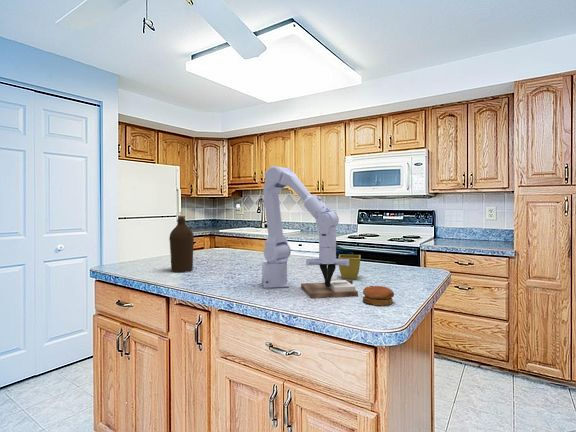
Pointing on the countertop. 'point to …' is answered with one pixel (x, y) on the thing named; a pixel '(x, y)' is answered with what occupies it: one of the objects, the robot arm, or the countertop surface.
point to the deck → (324, 291)
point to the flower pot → (350, 266)
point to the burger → (378, 295)
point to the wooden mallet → (346, 280)
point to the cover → (341, 286)
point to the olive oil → (181, 247)
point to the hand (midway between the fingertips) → (327, 286)
